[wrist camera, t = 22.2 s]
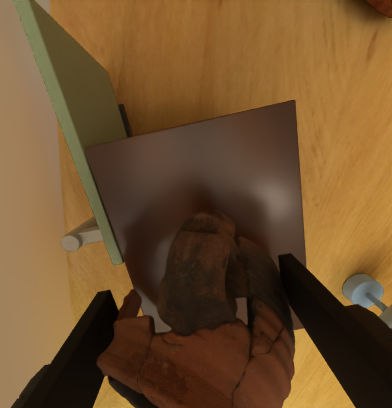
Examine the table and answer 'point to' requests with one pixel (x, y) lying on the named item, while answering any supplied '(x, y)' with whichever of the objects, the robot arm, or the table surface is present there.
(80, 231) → the sliding door
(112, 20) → the table surface
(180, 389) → the broken clay pot
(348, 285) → the spotlight
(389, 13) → the bread
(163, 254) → the cupboard
